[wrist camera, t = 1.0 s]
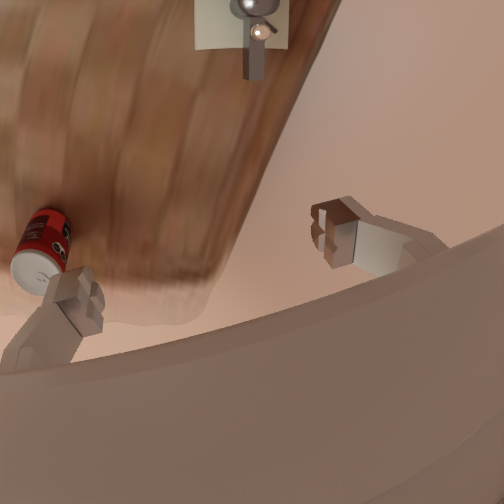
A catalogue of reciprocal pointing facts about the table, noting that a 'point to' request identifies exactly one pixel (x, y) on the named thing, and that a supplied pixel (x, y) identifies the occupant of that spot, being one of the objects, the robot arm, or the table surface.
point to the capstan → (254, 33)
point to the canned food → (42, 251)
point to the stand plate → (234, 26)
